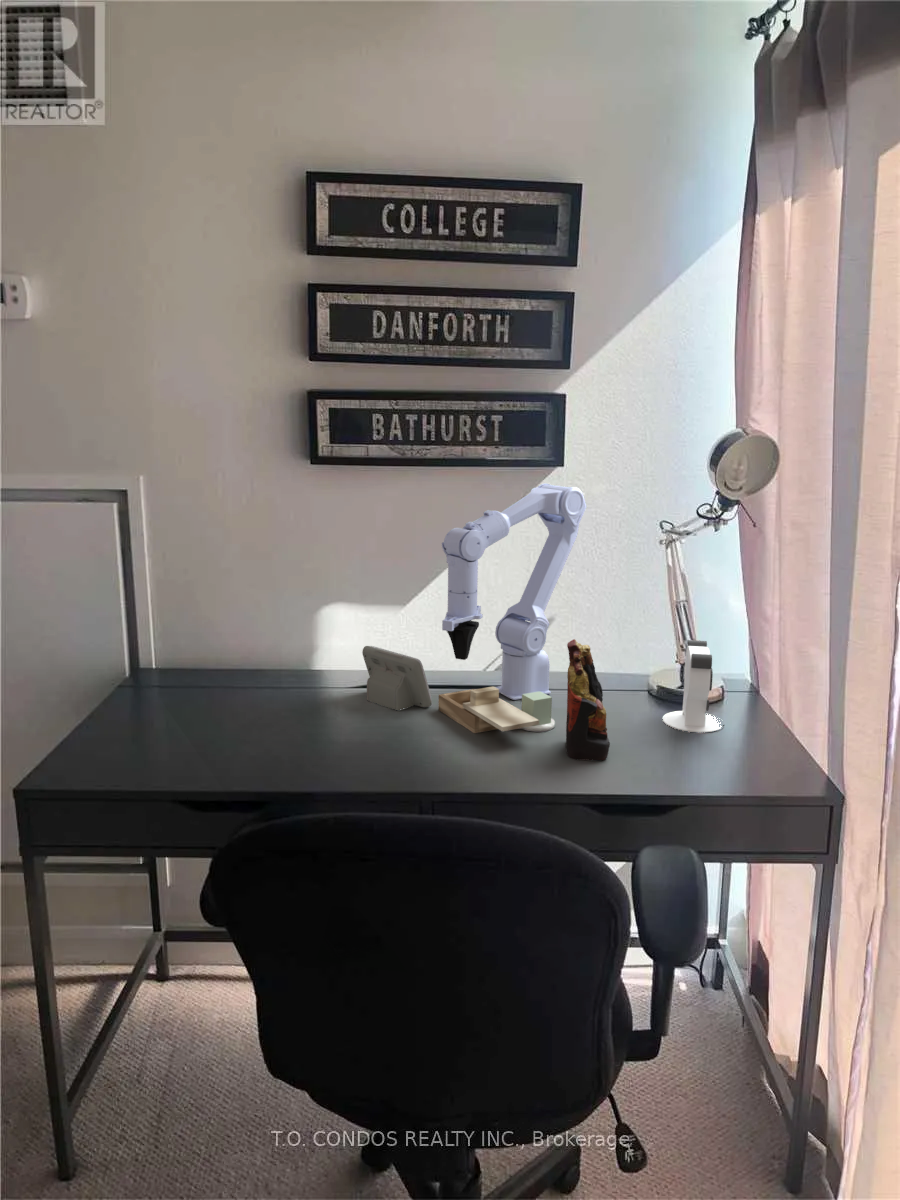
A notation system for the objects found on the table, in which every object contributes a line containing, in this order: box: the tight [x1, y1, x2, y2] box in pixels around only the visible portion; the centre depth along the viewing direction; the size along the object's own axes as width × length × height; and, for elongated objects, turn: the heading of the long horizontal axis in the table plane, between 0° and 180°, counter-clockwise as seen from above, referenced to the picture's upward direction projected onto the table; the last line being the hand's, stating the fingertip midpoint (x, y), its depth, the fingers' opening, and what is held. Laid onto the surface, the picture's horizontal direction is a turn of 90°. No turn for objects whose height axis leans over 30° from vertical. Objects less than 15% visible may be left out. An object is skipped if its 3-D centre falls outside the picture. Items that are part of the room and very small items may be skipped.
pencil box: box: [438, 688, 499, 734], centre depth 172 cm, size 8×14×3 cm, turn 29°
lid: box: [463, 686, 539, 732], centre depth 163 cm, size 8×14×3 cm, turn 29°
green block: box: [521, 691, 553, 726], centre depth 168 cm, size 4×4×5 cm
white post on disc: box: [662, 639, 722, 734], centre depth 169 cm, size 12×11×15 cm
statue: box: [565, 638, 611, 761], centre depth 156 cm, size 12×8×20 cm, turn 169°
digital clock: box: [361, 645, 433, 711], centre depth 180 cm, size 16×9×11 cm, turn 36°
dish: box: [520, 717, 556, 733], centre depth 169 cm, size 7×7×1 cm
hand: (461, 658), depth 176 cm, fingers closed
